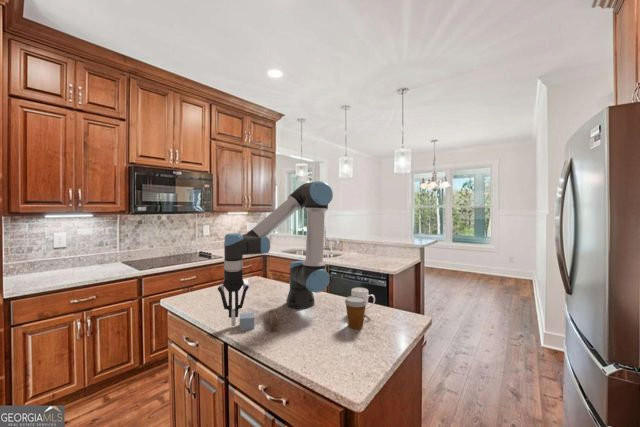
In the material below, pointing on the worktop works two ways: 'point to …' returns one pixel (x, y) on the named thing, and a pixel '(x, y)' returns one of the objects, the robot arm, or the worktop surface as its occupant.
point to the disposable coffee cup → (355, 311)
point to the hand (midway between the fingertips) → (233, 324)
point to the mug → (362, 294)
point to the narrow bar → (273, 321)
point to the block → (246, 321)
